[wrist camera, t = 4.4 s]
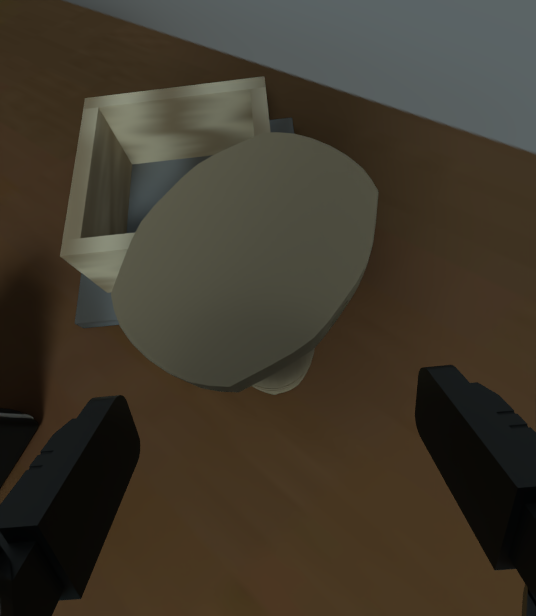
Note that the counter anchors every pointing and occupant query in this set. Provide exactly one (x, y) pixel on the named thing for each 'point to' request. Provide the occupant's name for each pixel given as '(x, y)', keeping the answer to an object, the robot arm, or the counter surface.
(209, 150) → the cream grey square tray
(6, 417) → the battery charger
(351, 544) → the counter surface
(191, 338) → the handle
